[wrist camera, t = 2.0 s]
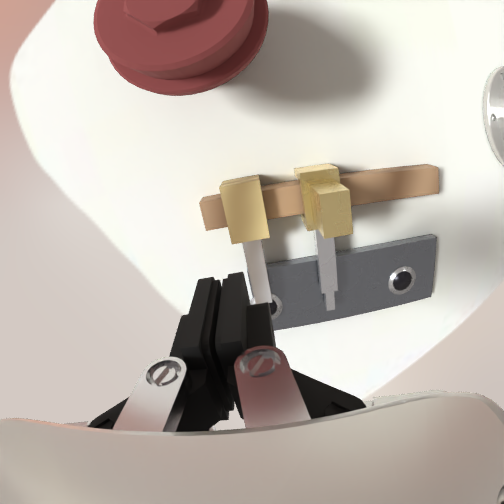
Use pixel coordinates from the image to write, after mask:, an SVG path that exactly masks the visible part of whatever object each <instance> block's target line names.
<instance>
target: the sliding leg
mask: <svg viewBox="0 0 504 504" xmlns="http://www.w3.org/2000/svg"><path fill="white" fill-rule="evenodd" d="M294 171H295V177H296V178H297V179H298V180H299V182H300V189H301V195H302V202H303V209H304V214H301V218H302V221H303V223H304V225H305V227H306V229H307V231H312V230H314V238H315V247H316V256H317V265H318V276H319V286H320V290H321V293H322V294H323V293H324V302H325V307H326V310H327V311H329V310H334V309H335V297H334V291H338V284H337V268H336V254H335V242H334V237H338V236H344V235H350V234H353V226H352V213H351V201H350V190H349V189H348V188H346V187H345V186H343V185H342V184H340V177H339V169H338V167H336V166H333V165H331V164H322V165H314V166H308V167H301V168H294Z"/></svg>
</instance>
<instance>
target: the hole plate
mask: <svg viewBox="0 0 504 504" xmlns="http://www.w3.org/2000/svg"><path fill="white" fill-rule="evenodd" d="M436 239H437V237H435V236H434V235H432V234H429V235H424V236H419V237H413V238H408V239H403V240H397V241H392V242H387V243H381V244H376V245H371V246H365V247H360V248H354V249H349V250H343V251H338V252H335V254H336V268H337V284H338V291H334V297H335V309H334V310H329V311H327V310H326V307H325V302H324V293H323V294H322V293H321V290H320V286H319V276H318V265H317V256H316V255H315V256H309V257H304V258H298V259H292V260H287V261H281V262H275V263H269V264H266V268H267V274H268V279H269V284H270V290H271V295H272V303H269V305H270V311H271V317H272V324H273V330H281V329H287V328H292V327H298V326H304V325H309V324H315V323H320V322H325V321H330V320H335V319H340V318H345V317H350V316H354V315H359V314H363V313H368V312H372V311H377V310H381V309H385V308H389V307H393V306H398V305H402V304H406V303H409V302H413V301H417V300H421V299H425V298H428V297H431V294H432V286H433V277H434V267H435V255H436ZM247 272H248V277H249V282H250V286H251V291H252V295H253V298H252V300H251V301H250V304H251V305H254V304H255V299H254V294H253V290H252V285H251V281H250V276H249V271H248V269H247Z"/></svg>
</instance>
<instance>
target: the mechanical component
mask: <svg viewBox="0 0 504 504" xmlns="http://www.w3.org/2000/svg"><path fill="white" fill-rule="evenodd" d="M268 14H269V11H268V4H267V0H98V1H97V4H96V8H95V12H94V31H95V35H96V38H97V41H98V43H99V45H100V46H101V48H102V50H103V51H104V52H105V53H106V54H107V55H108V57H109V59H110V62H111V63H112V65H113V66H114V68H115V70H116V71H117V72H118V73H119V74H120V75H121V76H122V77H123V78H124V79H126V80H127V81H128V82H130V83H131V84H133V85H135V86H137V87H139V88H142V89H145V90H147V91H151V92H154V93H157V94H163V95H170V96H183V95H192V94H197V93H201V92H205V91H208V90H211V89H213V88H216V87H218V86H220V85H222V84H224V83H226V82H228V81H229V80H231V79H232V78H234V77H235V76H237V75H238V74H239V73H240V72H241V71H243V70H244V69H245V68H246V67H247V66H248V65H249V64H250V63H251V61H252V60H253V59H254V57H255V56H256V55H257V53H258V52H259V50H260V48H261V46H262V44H263V41H264V38H265V35H266V31H267V26H268Z"/></svg>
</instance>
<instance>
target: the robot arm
mask: <svg viewBox="0 0 504 504" xmlns="http://www.w3.org/2000/svg"><path fill="white" fill-rule="evenodd" d="M483 115H484V123H485V129H486V133H487V136H488V140H489V142H490V145H491V147H492V150H493V152H494V153H495V155H496V157H497V159H498V160H499V161H500V162H501V164H502V165H503V166H504V66H503V67H499V68H497V69H495V70H494V71H493V72H492V73H491V74H490V76H489V78H488V80H487V82H486V85H485V89H484V96H483ZM234 401H235V404H236V407H237V409H238V412H239V414H240V417H241V418H242V419H244V422H245V427H246V428H245V429H233V430H219V431H216V428H215V424H216V423H217V422H218V421H220V420H228V418H229V411H232V410H234ZM0 504H504V411H503V409H502V408H500V407H499V406H498V405H497V404H496V403H495V402H494V401H492V400H491V399H489V398H487V397H485V396H483V395H479V394H476V393H469V392H446V391H443V390H431V391H424V392H417V393H409V394H401V395H393V396H382V397H374V398H373V401H366V402H363V401H362V400H361V399H359V398H357V397H355V396H353V395H351V394H348V393H346V392H343V391H341V390H338V389H336V388H334V387H331V386H329V385H327V384H324V383H322V382H320V381H317V380H315V379H313V378H310V377H308V376H306V375H304V374H301V373H299V372H297V371H295V370H293V369H291V368H290V366H289V363H288V361H287V358H286V356H285V354H284V353H283V351H281V350H280V349H278V348H276V344H275V337H274V330H273V324H272V319H271V314H270V308H269V304H268V302H265V303H260V304H254V305H251V304H250V300H249V295H248V291H247V286H246V282H245V278H244V274H243V272H239V273H233V274H228V278H227V279H223V283H222V286H221V283H220V280H215V279H214V277H210V278H204V279H199V280H198V283H197V286H196V290H195V293H194V297H193V300H192V304H191V307H190V311H189V314H188V315H183V316H182V317H181V319H180V322H179V326H178V329H177V332H176V336H175V339H174V342H173V346H172V349H171V352H170V356H169V357H164V358H160V359H157V360H156V361H154V362H152V363H150V364H149V365H148V366H147V367H146V368H145V369H144V371H143V373H142V374H141V376H140V378H139V380H138V382H137V383H136V385H135V387H134V389H133V391H132V393H131V395H130V396H129V397H128V398H127V399H125V400H124V401H122V402H120V403H119V404H117V405H116V406H114V407H113V408H111V409H109V410H108V411H106V412H105V413H103V414H101V415H100V416H98V417H97V418H95V419H94V420H93V421H92V422H91V423H89V422H78V423H68V424H59V423H51V422H46V421H39V420H31V419H21V418H10V419H1V420H0Z"/></svg>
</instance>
